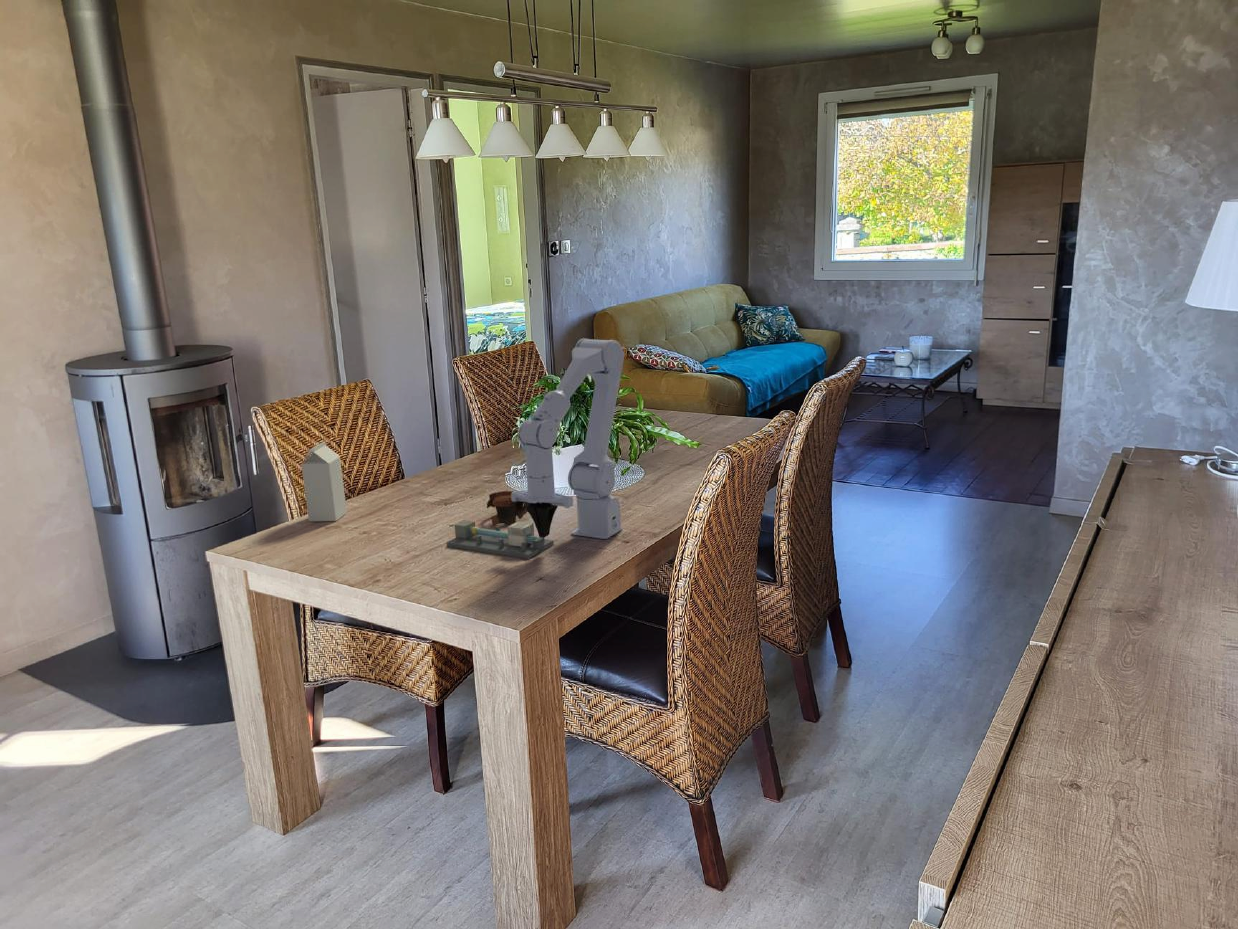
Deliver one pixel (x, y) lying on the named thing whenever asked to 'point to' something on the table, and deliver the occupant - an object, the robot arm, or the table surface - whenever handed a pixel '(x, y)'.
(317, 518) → the milk carton
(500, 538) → the miniature lathe model
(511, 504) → the pottery mug
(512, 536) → the sleeve
